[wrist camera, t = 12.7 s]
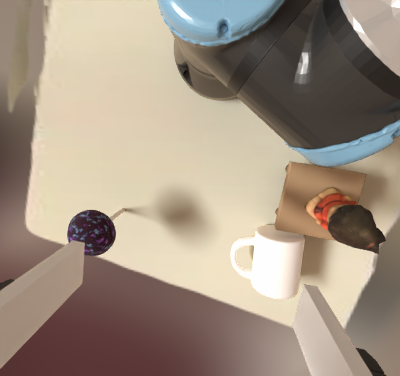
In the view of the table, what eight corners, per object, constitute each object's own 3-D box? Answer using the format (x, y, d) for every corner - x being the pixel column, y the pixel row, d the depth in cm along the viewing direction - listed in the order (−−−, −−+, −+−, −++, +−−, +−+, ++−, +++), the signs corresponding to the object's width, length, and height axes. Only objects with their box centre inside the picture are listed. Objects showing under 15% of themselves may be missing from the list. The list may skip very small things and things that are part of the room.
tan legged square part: (282, 158, 44) (292, 162, 38) (346, 169, 43) (366, 174, 37) (269, 218, 46) (276, 229, 40) (329, 228, 45) (345, 242, 40)
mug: (297, 226, 46) (312, 244, 38) (291, 275, 48) (304, 302, 40) (231, 221, 47) (233, 238, 39) (228, 270, 49) (229, 295, 41)
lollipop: (107, 226, 49) (59, 264, 35) (104, 192, 48) (52, 217, 33) (141, 226, 49) (106, 265, 34) (139, 192, 47) (101, 217, 33)
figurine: (351, 191, 38) (409, 216, 26) (339, 225, 39) (388, 263, 27) (310, 181, 38) (349, 202, 26) (299, 215, 39) (331, 249, 28)
